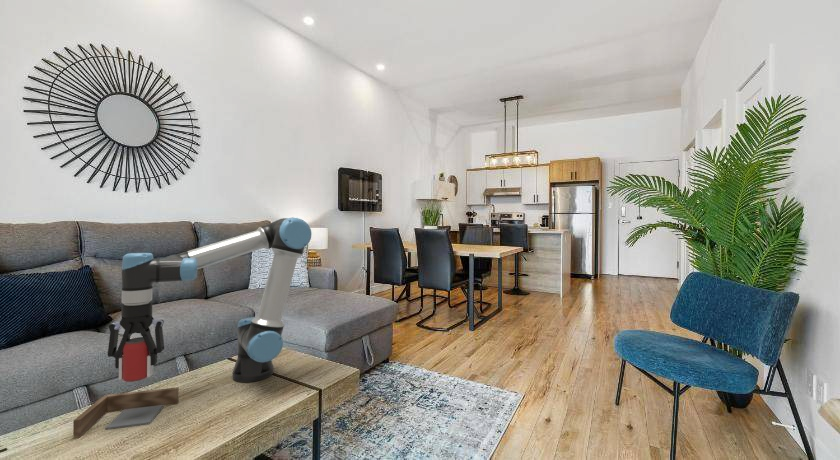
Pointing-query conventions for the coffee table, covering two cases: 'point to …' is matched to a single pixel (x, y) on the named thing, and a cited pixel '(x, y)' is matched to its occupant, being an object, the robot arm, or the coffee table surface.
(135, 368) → the beer can
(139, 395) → the wooden corner frame
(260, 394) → the coffee table surface
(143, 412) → the coaster
